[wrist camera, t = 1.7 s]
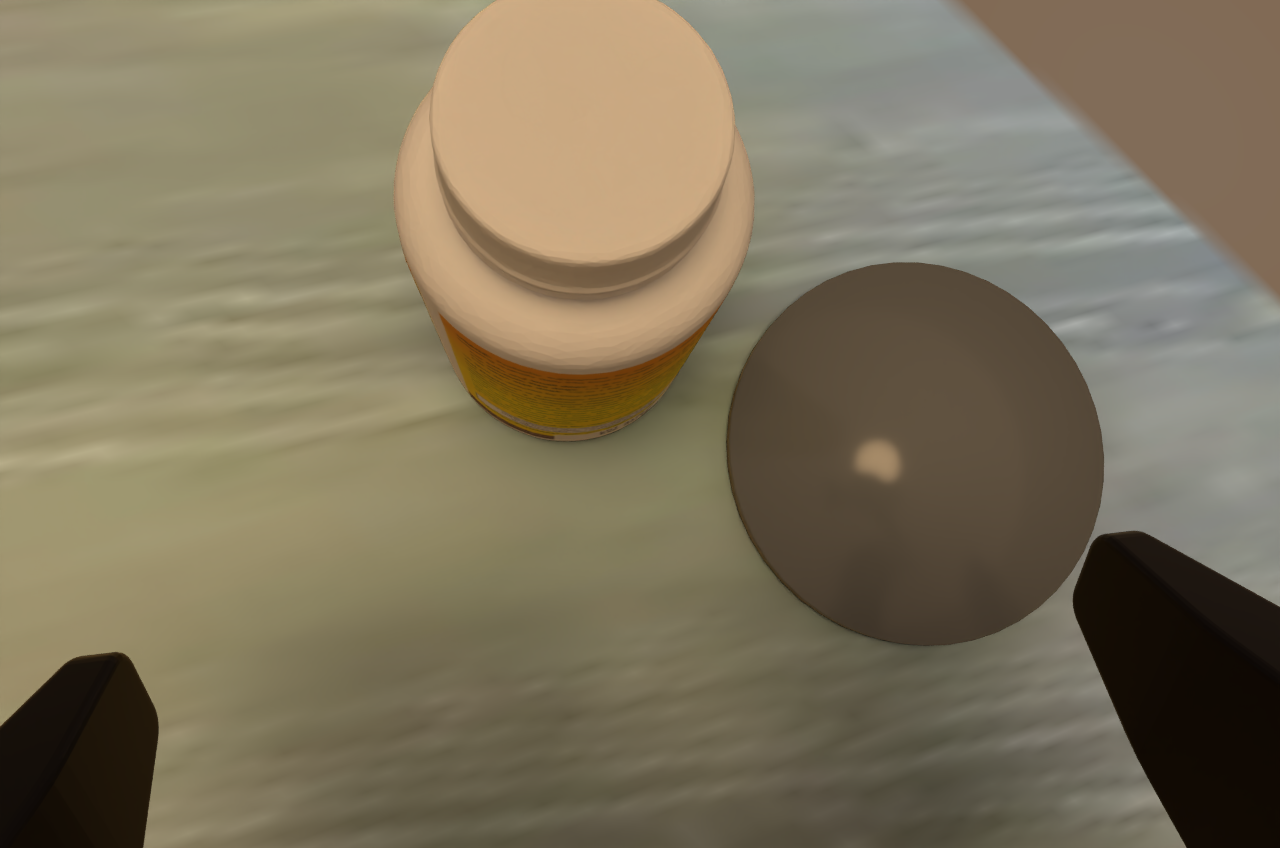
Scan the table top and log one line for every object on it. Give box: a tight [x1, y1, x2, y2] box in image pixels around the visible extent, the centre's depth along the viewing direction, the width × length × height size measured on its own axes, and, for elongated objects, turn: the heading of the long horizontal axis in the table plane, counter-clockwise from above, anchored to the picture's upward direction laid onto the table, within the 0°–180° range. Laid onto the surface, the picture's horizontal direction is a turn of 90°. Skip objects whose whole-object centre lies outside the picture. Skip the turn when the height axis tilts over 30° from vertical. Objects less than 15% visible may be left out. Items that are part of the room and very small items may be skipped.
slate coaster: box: [726, 263, 1104, 646], centre depth 22 cm, size 9×9×1 cm
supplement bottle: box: [394, 0, 754, 441], centre depth 17 cm, size 6×6×10 cm
